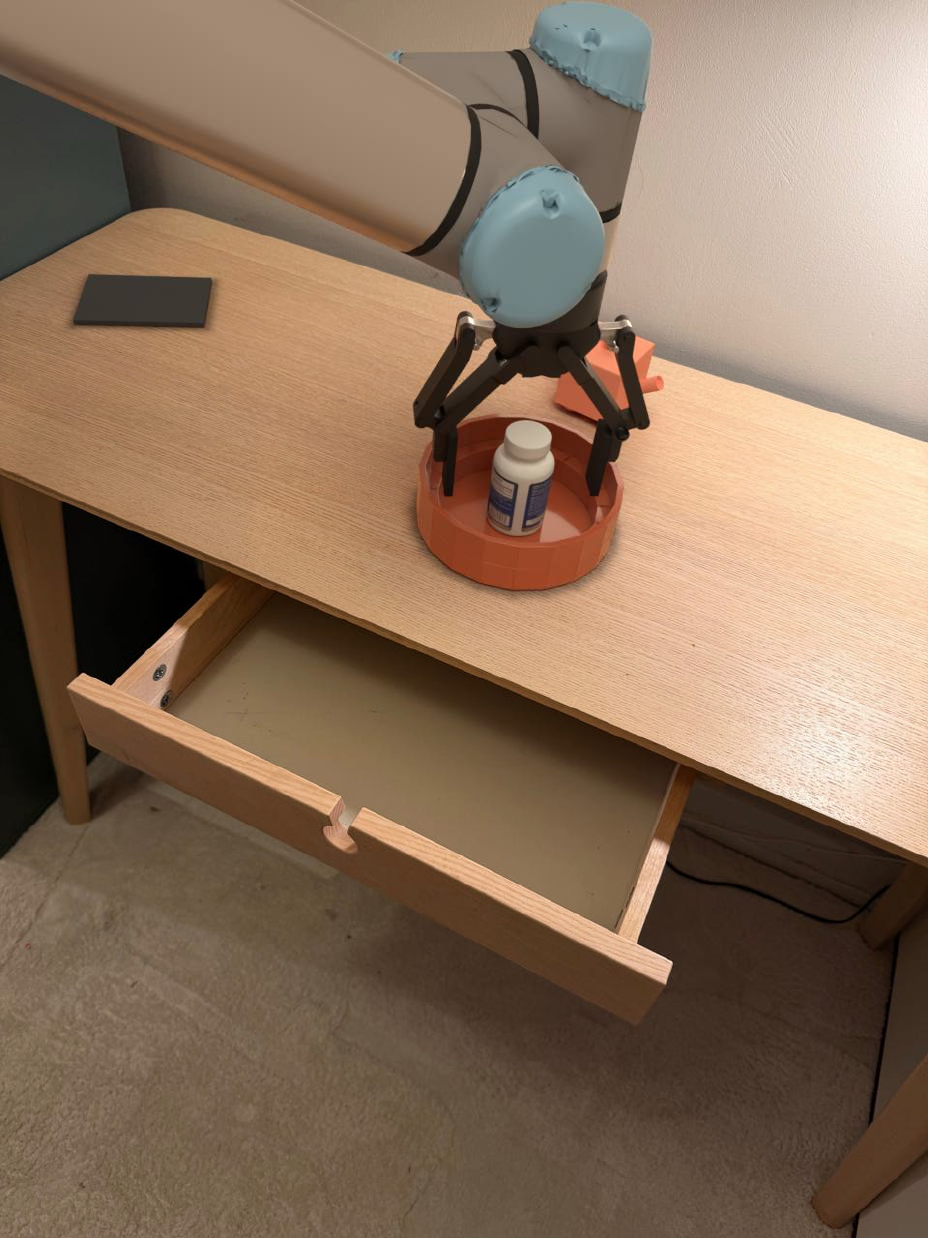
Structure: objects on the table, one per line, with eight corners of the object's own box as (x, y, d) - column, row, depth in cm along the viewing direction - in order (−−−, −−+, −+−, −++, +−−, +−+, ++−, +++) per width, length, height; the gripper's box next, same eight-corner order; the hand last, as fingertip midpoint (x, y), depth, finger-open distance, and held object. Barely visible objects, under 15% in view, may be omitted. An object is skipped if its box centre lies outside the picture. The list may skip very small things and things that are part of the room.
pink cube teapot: (634, 446, 94) (653, 378, 88) (535, 401, 98) (547, 333, 92) (666, 411, 99) (686, 344, 92) (570, 370, 102) (584, 303, 96)
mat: (74, 324, 100) (72, 319, 100) (89, 278, 107) (88, 273, 106) (204, 327, 102) (203, 322, 102) (212, 281, 109) (211, 277, 108)
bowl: (423, 593, 78) (426, 547, 74) (411, 458, 90) (413, 412, 86) (629, 590, 80) (643, 546, 76) (590, 459, 92) (601, 414, 88)
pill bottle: (540, 500, 87) (557, 416, 79) (545, 539, 83) (562, 455, 76) (484, 497, 86) (495, 412, 79) (486, 537, 83) (498, 451, 76)
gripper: (706, 240, 70) (643, 460, 86) (385, 229, 67) (381, 459, 83) (735, 291, 65) (661, 514, 81) (389, 281, 62) (384, 515, 78)
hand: (520, 486), depth 82 cm, fingers open, 12 cm apart
